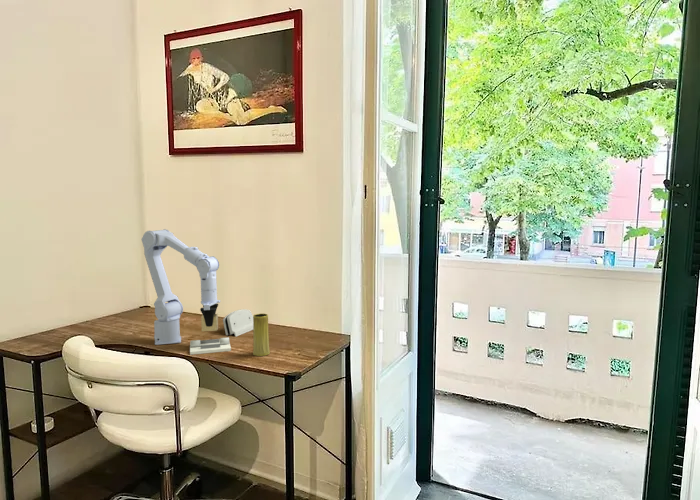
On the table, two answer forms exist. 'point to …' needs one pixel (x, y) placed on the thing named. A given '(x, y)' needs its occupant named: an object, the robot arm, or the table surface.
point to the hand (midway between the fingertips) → (210, 324)
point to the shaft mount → (209, 346)
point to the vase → (260, 335)
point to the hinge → (238, 322)
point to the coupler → (211, 328)
